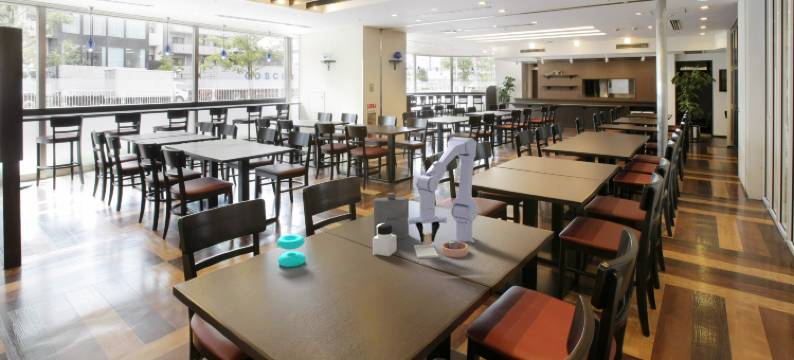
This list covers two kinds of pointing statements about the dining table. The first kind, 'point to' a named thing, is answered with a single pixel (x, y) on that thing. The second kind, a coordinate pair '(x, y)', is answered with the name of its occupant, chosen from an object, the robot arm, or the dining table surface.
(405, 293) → the dining table surface
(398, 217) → the flask
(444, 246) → the terracotta bowl
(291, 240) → the donuts
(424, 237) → the sandstone pebble
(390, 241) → the medicine bottle
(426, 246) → the parts tray
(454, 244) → the grey rounded short piece
